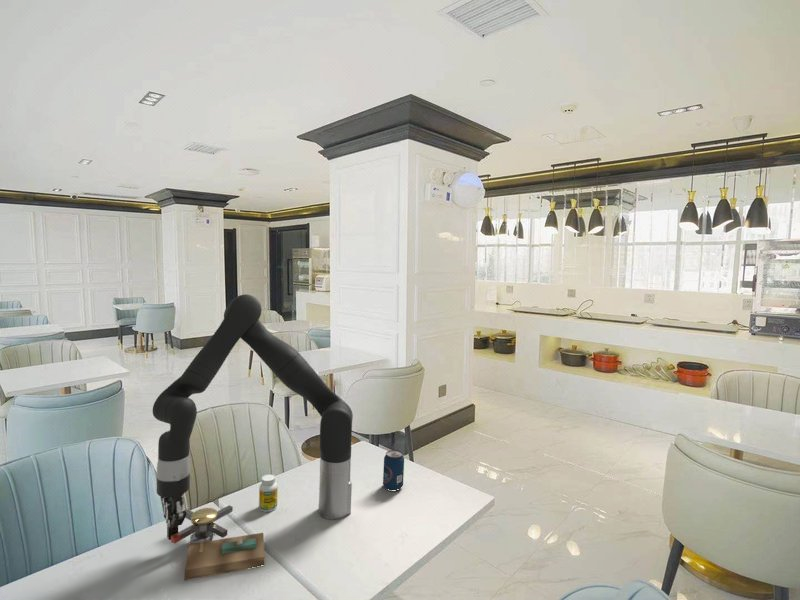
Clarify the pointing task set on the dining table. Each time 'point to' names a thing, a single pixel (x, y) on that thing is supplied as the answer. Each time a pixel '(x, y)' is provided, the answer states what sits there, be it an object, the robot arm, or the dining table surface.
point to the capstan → (203, 525)
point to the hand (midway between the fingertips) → (172, 537)
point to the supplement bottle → (268, 494)
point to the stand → (224, 556)
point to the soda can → (393, 470)
